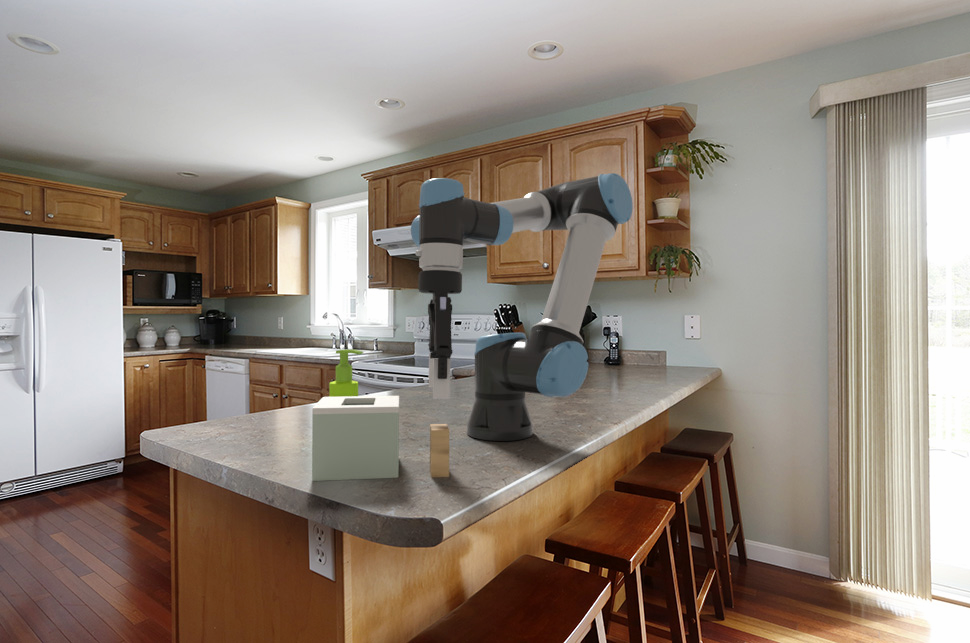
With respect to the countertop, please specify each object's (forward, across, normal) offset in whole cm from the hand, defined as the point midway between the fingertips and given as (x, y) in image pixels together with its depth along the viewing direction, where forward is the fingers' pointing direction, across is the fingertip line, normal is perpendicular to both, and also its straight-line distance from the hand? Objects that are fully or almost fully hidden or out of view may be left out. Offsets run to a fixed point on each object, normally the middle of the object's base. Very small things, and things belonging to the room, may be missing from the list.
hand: (438, 393), depth 92 cm
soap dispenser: (+14, -22, -18) cm, 32 cm away
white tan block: (+14, 0, 0) cm, 14 cm away
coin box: (+14, -4, -14) cm, 20 cm away
